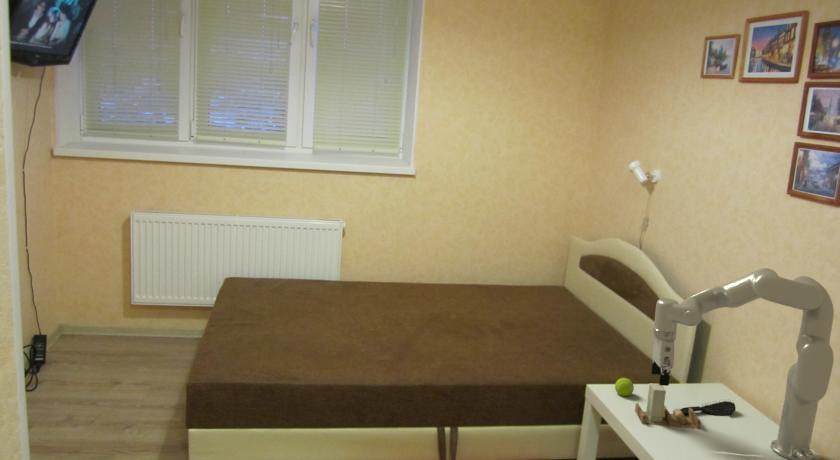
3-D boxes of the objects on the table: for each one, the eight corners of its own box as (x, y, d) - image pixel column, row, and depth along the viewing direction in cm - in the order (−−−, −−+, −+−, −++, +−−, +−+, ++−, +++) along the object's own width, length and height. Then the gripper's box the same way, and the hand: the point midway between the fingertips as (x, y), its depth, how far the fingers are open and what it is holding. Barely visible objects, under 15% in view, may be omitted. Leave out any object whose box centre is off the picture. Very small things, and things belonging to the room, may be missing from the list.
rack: (699, 430, 231) (700, 420, 231) (641, 425, 232) (643, 415, 232) (689, 417, 241) (691, 407, 240) (634, 412, 242) (635, 403, 242)
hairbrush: (670, 402, 245) (725, 395, 252) (669, 412, 245) (724, 404, 253) (685, 413, 237) (741, 405, 244) (684, 422, 238) (740, 414, 245)
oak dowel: (688, 424, 233) (687, 417, 232) (679, 425, 233) (678, 418, 233) (681, 415, 240) (680, 408, 239) (673, 416, 240) (672, 409, 239)
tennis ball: (613, 390, 260) (615, 373, 259) (632, 393, 258) (634, 376, 257) (614, 397, 254) (616, 380, 252) (632, 400, 252) (635, 383, 250)
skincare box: (662, 422, 234) (666, 391, 231) (649, 421, 234) (654, 390, 232) (657, 414, 240) (661, 383, 238) (645, 413, 240) (649, 382, 238)
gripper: (683, 342, 222) (678, 390, 225) (668, 326, 239) (663, 370, 242) (660, 341, 222) (655, 389, 226) (647, 325, 239) (642, 369, 243)
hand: (659, 379), depth 234 cm, fingers open, 9 cm apart
